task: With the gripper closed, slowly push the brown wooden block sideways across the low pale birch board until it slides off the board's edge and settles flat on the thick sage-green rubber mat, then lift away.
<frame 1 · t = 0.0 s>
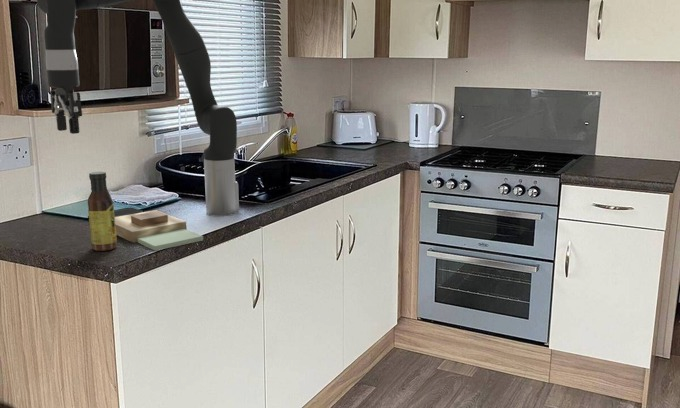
hand: (68, 131, 177), 29 cm above the countertop, tool pointing down, fingers open, 8 cm apart
phone: (115, 217, 210), on the countertop
brown wooden block: (149, 222, 191), point 3 cm above the countertop, touching butcher block
butcher block: (145, 230, 194), on the countertop
sauce bottle: (104, 249, 177), on the countertop
sage mat: (170, 241, 183), on the countertop
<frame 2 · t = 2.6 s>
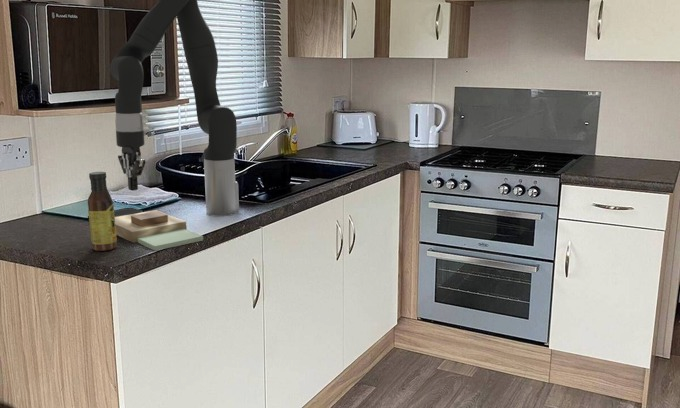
hand: (133, 189, 195), 11 cm above the countertop, tool pointing down, fingers closed
nothing on the countertop moved.
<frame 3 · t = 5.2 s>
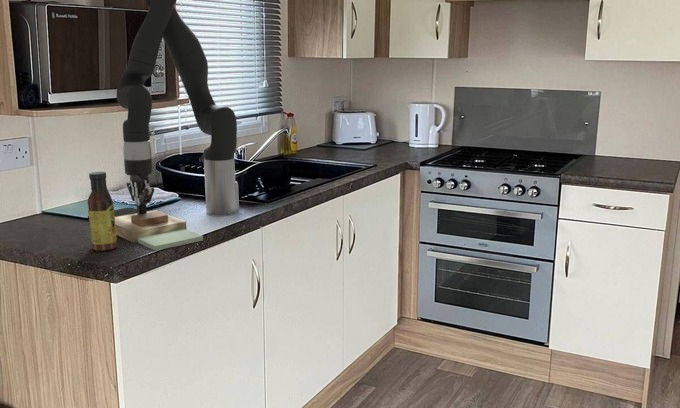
hand: (142, 217, 194), 4 cm above the countertop, tool pointing down, fingers closed
brown wooden block: (149, 222, 191), point 3 cm above the countertop, touching butcher block, gripper
everything else where it was.
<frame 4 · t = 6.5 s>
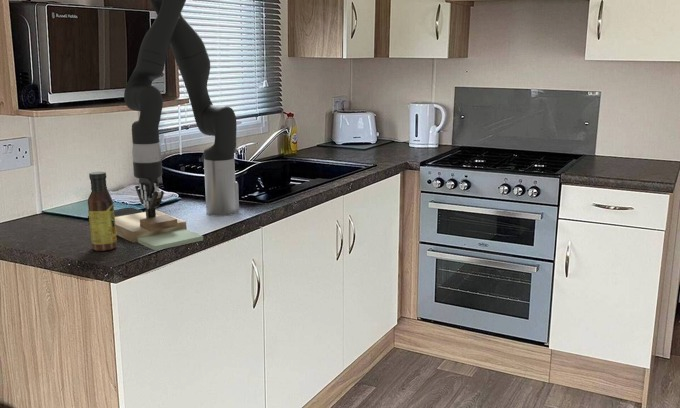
hand: (151, 220, 190), 4 cm above the countertop, tool pointing down, fingers closed
brown wooden block: (158, 226, 186), point 3 cm above the countertop, touching butcher block, gripper
everything else where it was.
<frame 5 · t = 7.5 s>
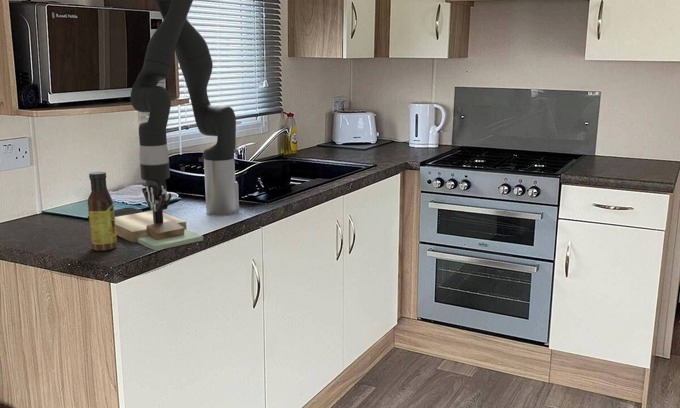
hand: (158, 223, 187), 4 cm above the countertop, tool pointing down, fingers closed
brown wooden block: (165, 233, 184), point 2 cm above the countertop, tilted 9°
everything else where it was.
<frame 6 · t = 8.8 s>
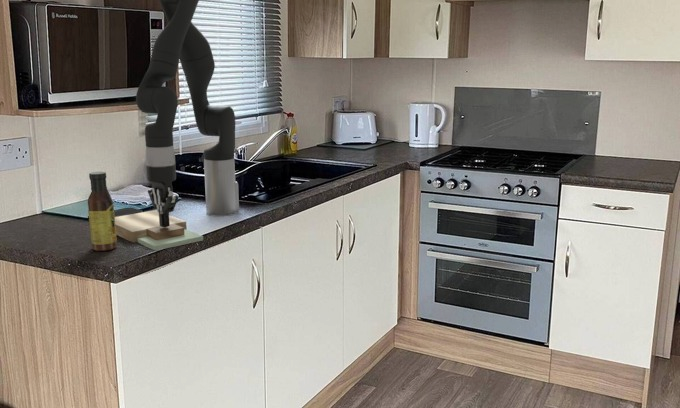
hand: (164, 226, 184), 4 cm above the countertop, tool pointing down, fingers closed
brown wooden block: (165, 235, 184), point 1 cm above the countertop, touching sage mat
everything else where it was.
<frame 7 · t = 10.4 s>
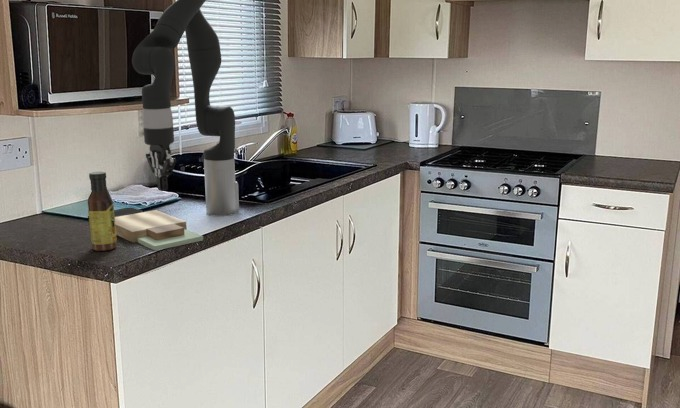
hand: (163, 190, 182), 14 cm above the countertop, tool pointing down, fingers closed
nothing on the countertop moved.
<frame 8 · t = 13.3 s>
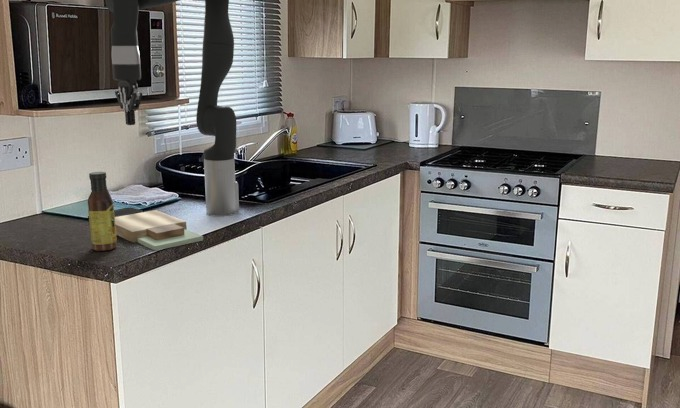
hand: (130, 124, 195), 29 cm above the countertop, tool pointing down, fingers closed
nothing on the countertop moved.
at the end: brown wooden block inside the target area (2.5 cm from its centre), point 1.2 cm above the countertop; brown wooden block tilted 0° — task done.
